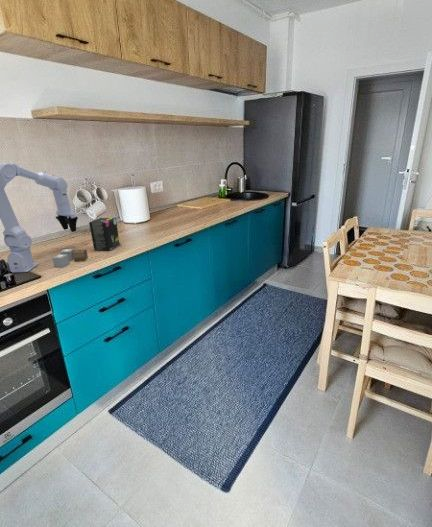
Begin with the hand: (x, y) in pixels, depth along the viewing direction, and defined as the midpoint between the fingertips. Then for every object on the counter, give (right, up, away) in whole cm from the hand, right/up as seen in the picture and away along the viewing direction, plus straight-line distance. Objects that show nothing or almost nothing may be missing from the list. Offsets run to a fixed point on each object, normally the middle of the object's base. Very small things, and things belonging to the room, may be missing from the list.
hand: (69, 230), depth 155 cm
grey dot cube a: (+4, -15, -9) cm, 18 cm away
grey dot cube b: (+4, -18, -17) cm, 25 cm away
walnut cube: (+10, -15, -11) cm, 21 cm away
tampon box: (+17, -9, +6) cm, 20 cm away
